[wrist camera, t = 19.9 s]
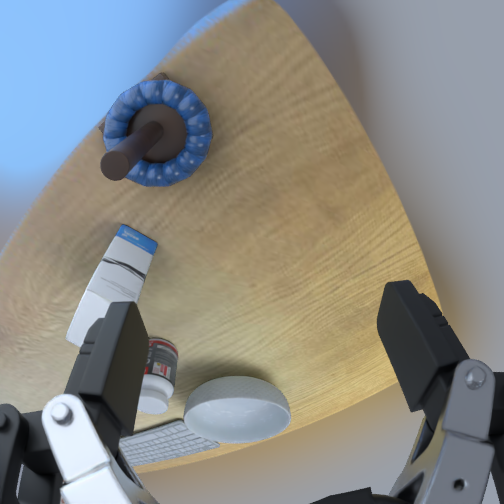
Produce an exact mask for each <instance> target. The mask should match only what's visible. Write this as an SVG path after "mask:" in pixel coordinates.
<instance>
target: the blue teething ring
mask: <svg viewBox="0 0 504 504" xmlns="http://www.w3.org/2000/svg"><path fill="white" fill-rule="evenodd" d="M151 104H164V105H166V106H168V107H170V108H173V109H175V110H176V111H177V112H178V114H179V115H180V116H181V117H182V118H183V120H184V122H185V126H186V131H187V137H186V141H185V146H184V148H183V149H182V150H181V152H180V153H179V154H178V155H177V157H175V158H173V159H171V160H169V161H167V162H165V163H149V162H147V161H145V160H142V159H141V160H140V161H139V162H138V163H137V164H136V165H135V166H134V168H133V169H132V170H131V171H130V172H129V173H128V174H127V175H126V176H125V178H127V179H129V180H131V181H134V182H136V183H138V184H141V185H143V186H146V187H161V186H171V185H173V184H175V183H177V182H179V181H182V180H184V179H186V178H188V177H190V176H191V175H192V174H193V173H194V172H195V171H196V169H197V168H198V167H199V166H200V165H201V163H202V162H203V161H204V160H205V159H206V157H207V154H208V150H209V146H210V142H211V138H212V128H211V123H210V118H209V113H208V110H207V108H206V107H205V105H204V104H203V103H202V102H201V100H200V99H199V98H198V97H197V95H196V94H195V93H194V92H193V91H192V90H191V89H189V88H187V87H184V86H182V85H180V84H178V83H175V82H173V81H170V80H152V81H143V82H141V83H139V84H137V85H135V86H133V87H132V88H130V89H128V90H126V91H125V92H123V93H122V94H121V95H120V96H119V97H118V99H117V100H116V101H115V103H114V104H113V106H112V107H111V109H110V110H109V112H108V113H107V116H106V121H105V127H104V134H103V141H104V144H105V147H106V151H107V152H108V151H109V150H111V149H112V148H113V147H115V146H116V145H117V144H119V143H120V142H121V141H123V140H124V139H125V138H127V136H126V134H127V129H128V123H129V121H130V119H131V118H132V117H133V115H134V114H135V112H136V111H138V110H139V109H141V108H143V107H145V106H147V105H151Z"/></svg>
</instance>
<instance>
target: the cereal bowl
mask: <svg viewBox="0 0 504 504" xmlns="http://www.w3.org/2000/svg"><path fill="white" fill-rule="evenodd" d="M183 417H184V423H185V425H186V427H187V428H188V429H189V430H190V431H191V432H192V433H194V434H196V435H198V436H200V437H202V438H205V439H208V440H212V441H216V442H223V443H249V442H255V441H260V440H264V439H267V438H270V437H272V436H275V435H277V434H279V433H280V432H282V431H283V430H285V429H286V428H287V427H288V425H289V424H290V421H291V413H290V407H289V405H288V402H287V399H286V398H285V396H284V395H283V393H282V392H281V391H280V390H279V389H278V388H276V387H275V386H274V385H272V384H271V383H269V382H266V381H264V380H261V379H258V378H254V377H248V376H227V377H221V378H217V379H213V380H210V381H208V382H205V383H204V384H201V385H200V386H199V387H197V388H196V389H195V390H194V391H193V392H192V393H191V395H190V396H189V398H188V400H187V402H186V405H185V409H184V416H183Z"/></svg>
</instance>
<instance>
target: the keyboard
mask: <svg viewBox="0 0 504 504" xmlns="http://www.w3.org/2000/svg"><path fill="white" fill-rule="evenodd" d="M119 446H120V448H121V449H122V451H123V453H124V454H125V456H126V458H127V459H128V461H129V463H130V464H131V466H137V465H143V464H148V463H153V462H158V461H163V460H168V459H173V458H177V457H181V456H186V455H190V454H194V453H198V452H202V451H206V450H210V449H214V448H217V447H220V444H219V443H218V442H216V441H212V440H208V439H205V438H202V437H200V436H198V435H196V434H194V433H192V432H191V431H190V430H189V429H188V428H187V427H186V425H185V423H184V421H183V420H177V421H174V422H171V423H169V424H166V425H162V426H159V427H156V428H153V429H150V430H146V431H143V432H140V433H136V434H133V436H126V437H122V438H120V441H119Z"/></svg>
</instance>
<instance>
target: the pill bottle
mask: <svg viewBox="0 0 504 504" xmlns="http://www.w3.org/2000/svg"><path fill="white" fill-rule="evenodd" d="M177 360H178V351H177V349H176V347H175V346H174V345H173V344H171V343H170V342H168V341H166V340H163V339H149V354H148V358H147V363H146V368H145V373H144V377H143V382H142V387H141V392H140V397H139V403H138V408H137V409H138V410H140V411H142V412H144V413H148V414H162V413H164V412H166V411H167V409H168V399H169V398H170V397H171V396H172V395H173V392H174V385H175V376H176V368H177Z"/></svg>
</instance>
